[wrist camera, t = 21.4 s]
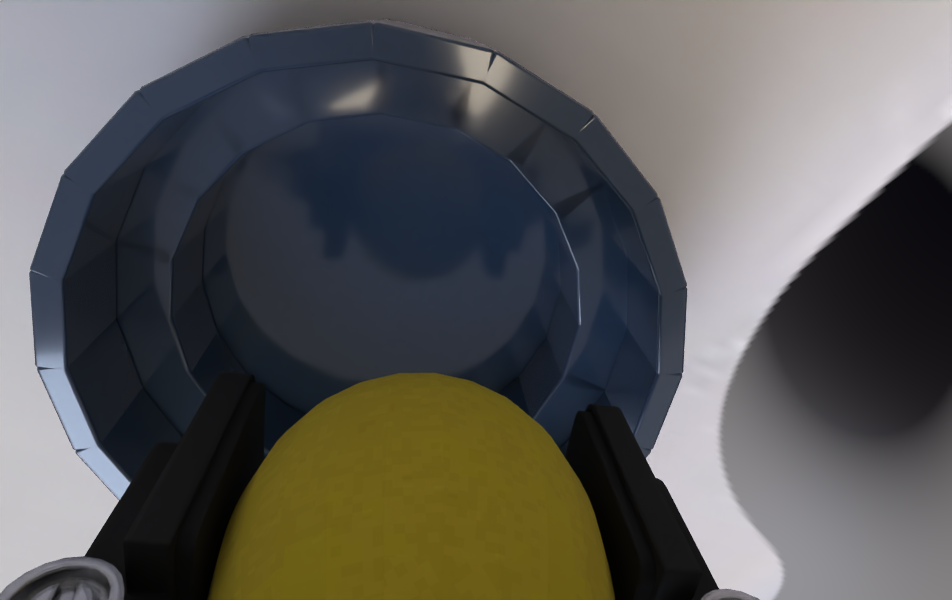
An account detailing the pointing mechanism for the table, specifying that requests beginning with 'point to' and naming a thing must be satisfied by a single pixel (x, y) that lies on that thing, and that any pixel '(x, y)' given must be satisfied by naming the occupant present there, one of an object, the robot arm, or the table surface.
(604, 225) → the bowl
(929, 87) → the table surface
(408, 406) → the lemon
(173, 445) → the robot arm
